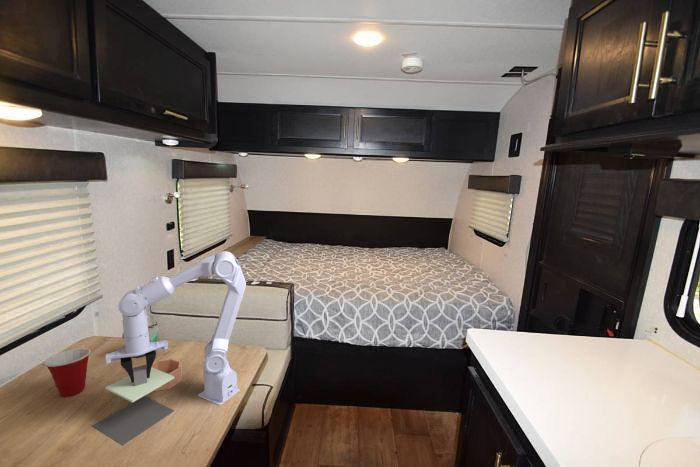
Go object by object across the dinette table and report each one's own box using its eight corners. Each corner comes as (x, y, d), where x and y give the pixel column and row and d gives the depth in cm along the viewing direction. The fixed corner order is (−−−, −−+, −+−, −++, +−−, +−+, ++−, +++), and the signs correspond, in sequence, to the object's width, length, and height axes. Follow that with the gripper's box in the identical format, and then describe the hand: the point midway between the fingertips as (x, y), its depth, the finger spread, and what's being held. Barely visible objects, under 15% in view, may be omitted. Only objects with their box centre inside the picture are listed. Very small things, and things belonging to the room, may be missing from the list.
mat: (174, 411, 93) (174, 410, 93) (122, 446, 81) (122, 445, 81) (144, 396, 99) (144, 395, 99) (91, 427, 87) (91, 425, 87)
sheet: (174, 378, 96) (173, 363, 95) (132, 402, 85) (130, 386, 84) (148, 367, 101) (147, 353, 100) (105, 389, 90) (103, 373, 90)
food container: (130, 363, 117) (128, 337, 115) (123, 357, 120) (121, 332, 119) (166, 350, 126) (164, 325, 125) (159, 345, 130) (157, 321, 129)
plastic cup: (89, 376, 109) (85, 342, 107) (99, 390, 102) (95, 354, 100) (45, 392, 101) (40, 355, 99) (52, 408, 94) (47, 369, 92)
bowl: (189, 377, 110) (188, 363, 109) (160, 395, 100) (160, 380, 99) (165, 369, 114) (165, 356, 113) (136, 386, 104) (135, 372, 103)
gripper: (164, 322, 98) (168, 364, 100) (104, 334, 90) (109, 379, 92) (167, 331, 92) (170, 375, 94) (103, 345, 84) (108, 393, 86)
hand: (140, 378), depth 93 cm, fingers closed on sheet, 3 cm apart
